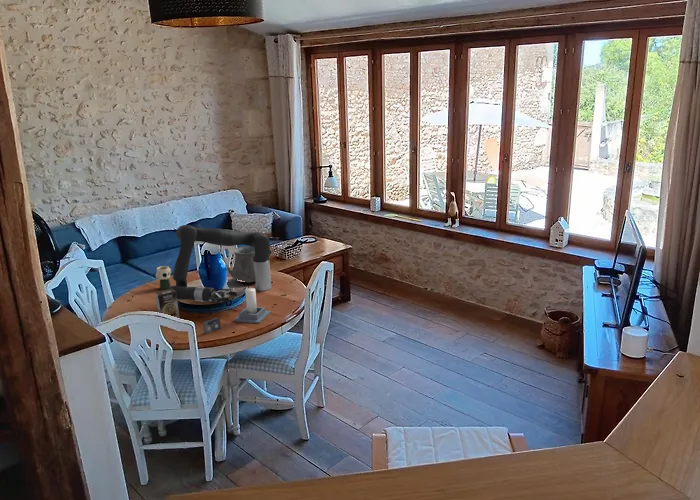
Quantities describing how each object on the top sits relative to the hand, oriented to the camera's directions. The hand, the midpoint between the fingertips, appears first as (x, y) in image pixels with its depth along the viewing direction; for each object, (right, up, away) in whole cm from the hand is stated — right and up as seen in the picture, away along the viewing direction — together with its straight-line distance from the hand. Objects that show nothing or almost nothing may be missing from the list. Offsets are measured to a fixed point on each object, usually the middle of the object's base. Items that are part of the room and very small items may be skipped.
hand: (233, 296), depth 281 cm
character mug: (-50, +1, +45) cm, 67 cm away
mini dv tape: (-7, -16, -15) cm, 23 cm away
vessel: (-2, +6, +55) cm, 55 cm away
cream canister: (+10, -9, 0) cm, 14 cm away
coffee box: (-32, -12, -2) cm, 35 cm away
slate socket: (+10, -10, 0) cm, 14 cm away
